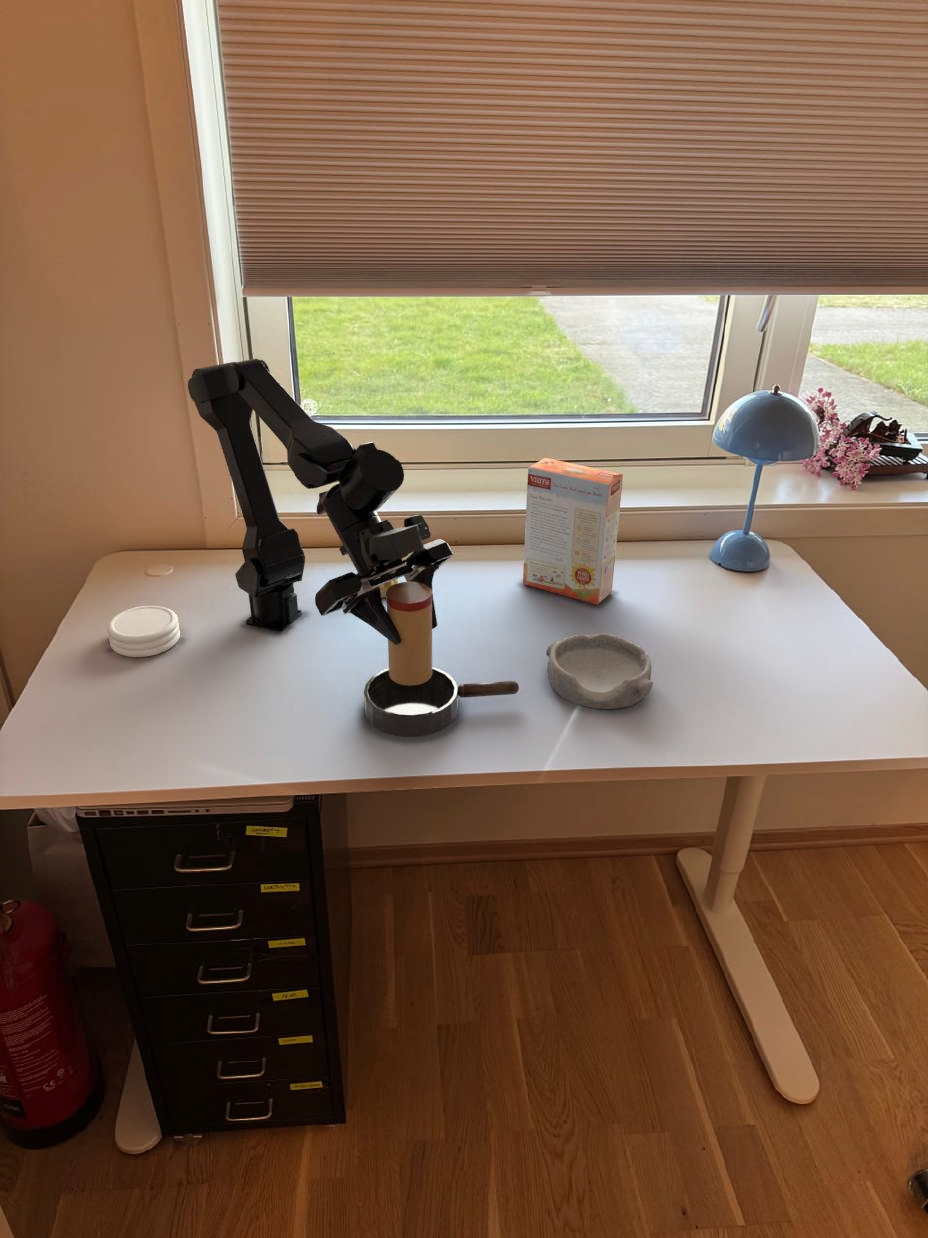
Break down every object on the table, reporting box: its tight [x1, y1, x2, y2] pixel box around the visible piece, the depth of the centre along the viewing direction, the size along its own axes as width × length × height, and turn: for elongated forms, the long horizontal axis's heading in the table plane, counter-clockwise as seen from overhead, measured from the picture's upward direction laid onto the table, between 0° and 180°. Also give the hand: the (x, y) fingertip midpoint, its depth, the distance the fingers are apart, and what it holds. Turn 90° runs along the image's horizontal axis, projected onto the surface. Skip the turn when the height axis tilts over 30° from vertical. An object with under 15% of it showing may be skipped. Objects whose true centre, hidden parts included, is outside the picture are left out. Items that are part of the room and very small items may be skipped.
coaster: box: [106, 605, 181, 658], centre depth 137 cm, size 10×10×4 cm
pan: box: [363, 666, 459, 738], centre depth 123 cm, size 12×12×4 cm
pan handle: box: [457, 680, 520, 699], centre depth 123 cm, size 8×2×2 cm, turn 98°
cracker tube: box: [385, 581, 433, 686], centre depth 117 cm, size 6×6×12 cm
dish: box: [545, 632, 654, 710], centre depth 128 cm, size 14×14×5 cm
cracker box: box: [522, 457, 624, 606], centre depth 149 cm, size 14×6×21 cm, turn 58°
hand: (416, 635), depth 116 cm, fingers closed on cracker tube, 5 cm apart
